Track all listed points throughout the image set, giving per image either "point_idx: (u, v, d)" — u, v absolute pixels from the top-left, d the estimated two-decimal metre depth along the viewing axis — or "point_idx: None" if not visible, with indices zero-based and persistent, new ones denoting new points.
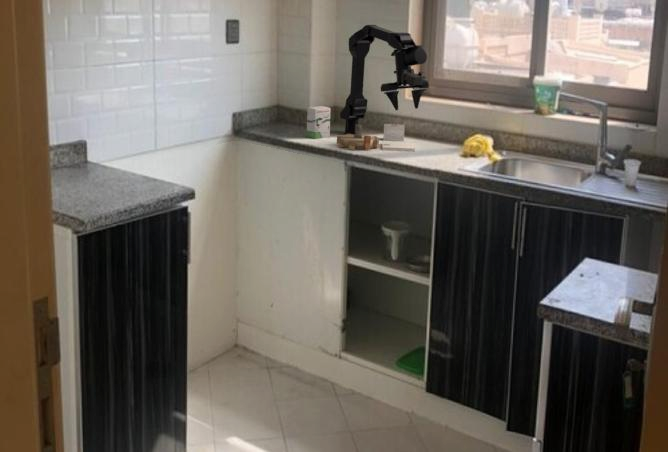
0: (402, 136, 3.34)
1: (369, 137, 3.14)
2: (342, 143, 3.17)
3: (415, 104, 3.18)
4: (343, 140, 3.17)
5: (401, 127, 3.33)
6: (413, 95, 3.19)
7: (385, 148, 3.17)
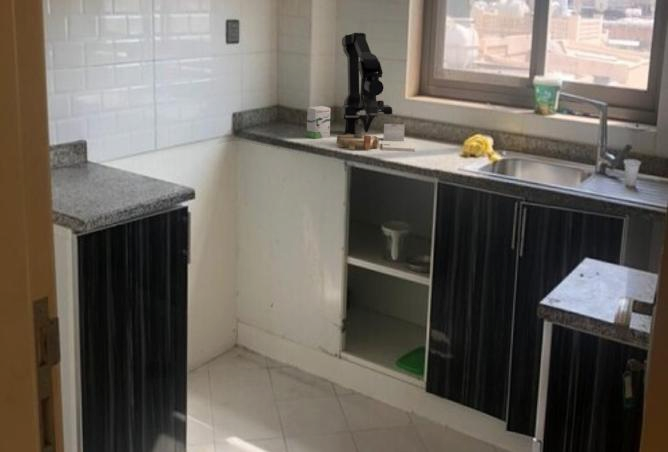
0: (402, 136, 3.34)
1: (369, 137, 3.14)
2: (342, 143, 3.17)
3: None
4: (343, 140, 3.17)
5: (401, 127, 3.33)
6: (366, 118, 3.26)
7: (385, 148, 3.17)
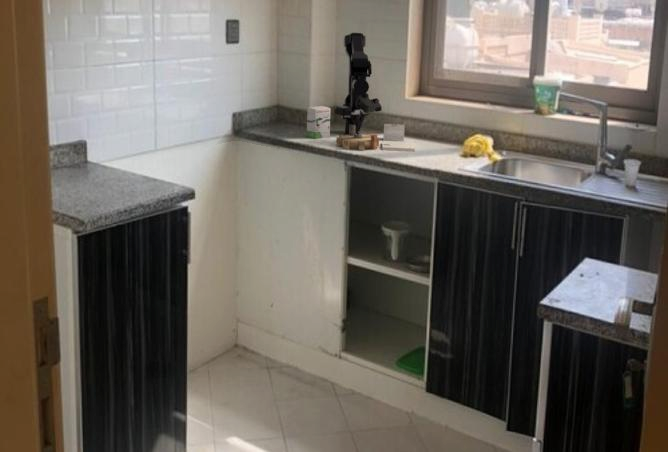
0: (402, 136, 3.34)
1: (376, 136, 3.17)
2: (349, 144, 3.15)
3: None
4: (350, 141, 3.15)
5: (401, 127, 3.33)
6: None
7: (385, 148, 3.17)
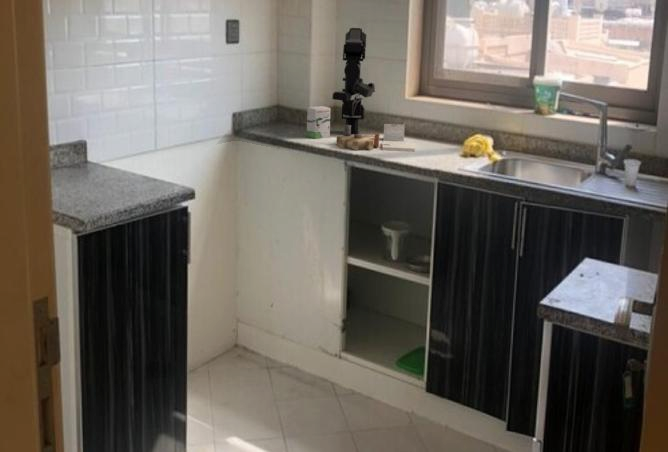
0: (402, 136, 3.34)
1: None
2: (358, 145, 3.15)
3: None
4: (358, 142, 3.15)
5: (401, 127, 3.33)
6: None
7: (385, 148, 3.17)
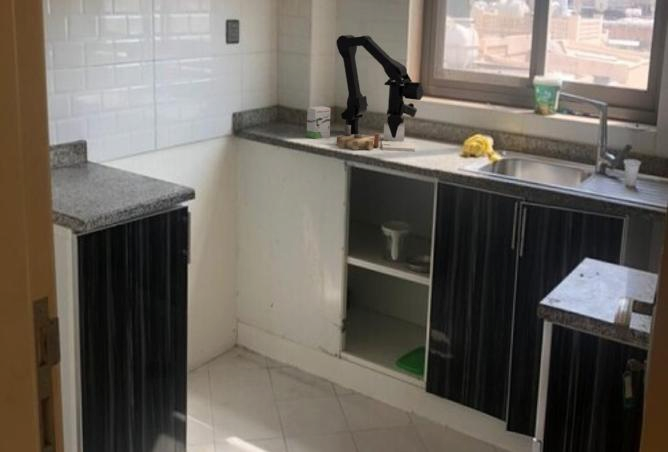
0: (402, 136, 3.34)
1: None
2: (358, 145, 3.15)
3: None
4: (358, 142, 3.15)
5: (401, 127, 3.33)
6: None
7: (385, 148, 3.17)
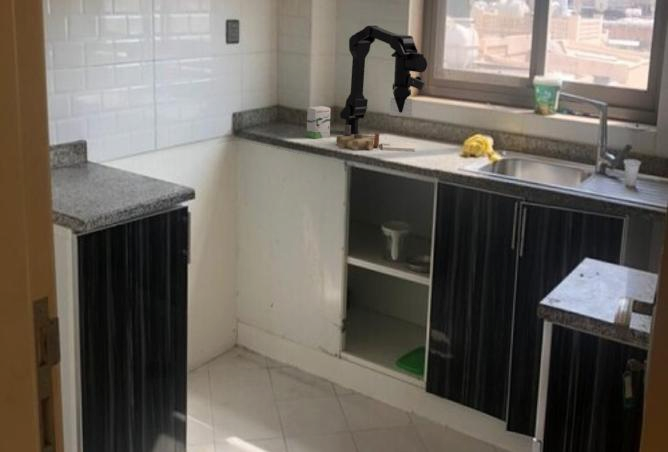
0: (410, 110, 3.19)
1: None
2: (358, 145, 3.15)
3: None
4: (358, 142, 3.15)
5: (408, 101, 3.18)
6: None
7: (385, 148, 3.17)
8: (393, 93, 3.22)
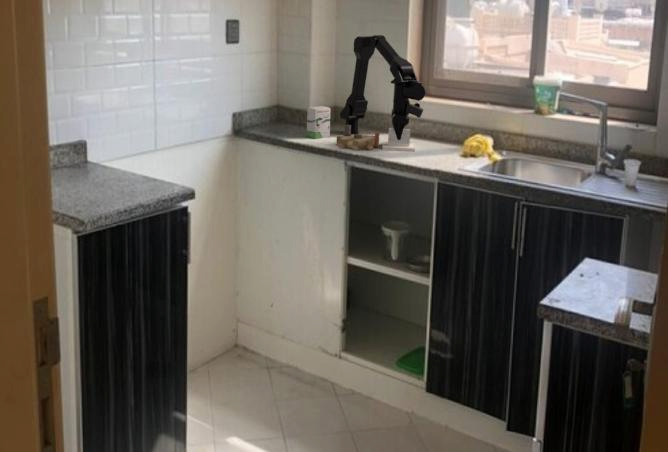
0: (408, 141, 3.19)
1: None
2: (358, 145, 3.15)
3: None
4: (358, 142, 3.15)
5: (407, 131, 3.18)
6: None
7: (385, 148, 3.17)
8: None
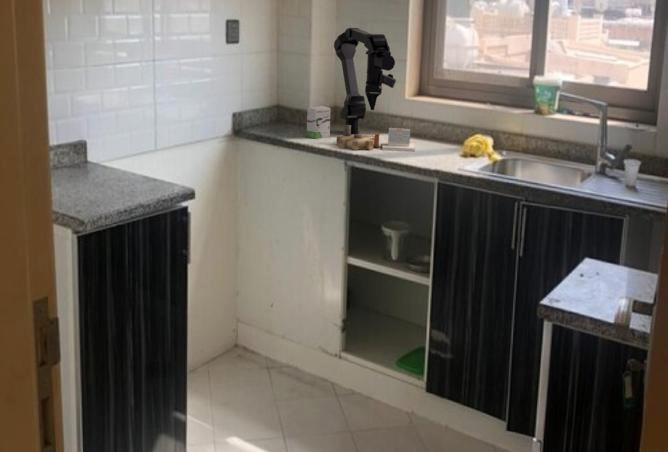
0: (408, 141, 3.19)
1: None
2: (358, 145, 3.15)
3: None
4: (358, 142, 3.15)
5: (407, 131, 3.18)
6: None
7: (385, 148, 3.17)
8: None
